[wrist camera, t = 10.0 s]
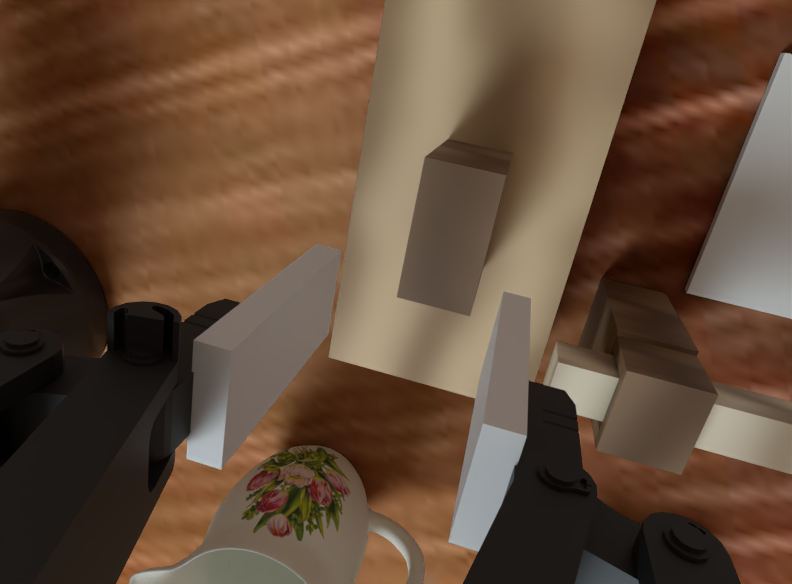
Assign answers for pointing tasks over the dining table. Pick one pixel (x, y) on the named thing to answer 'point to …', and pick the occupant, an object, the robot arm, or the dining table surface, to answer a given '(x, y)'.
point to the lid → (477, 175)
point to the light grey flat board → (755, 213)
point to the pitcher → (290, 527)
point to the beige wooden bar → (726, 424)
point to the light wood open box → (648, 377)
